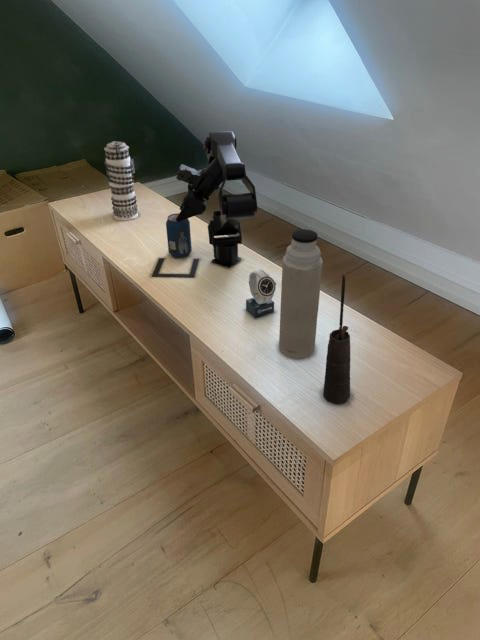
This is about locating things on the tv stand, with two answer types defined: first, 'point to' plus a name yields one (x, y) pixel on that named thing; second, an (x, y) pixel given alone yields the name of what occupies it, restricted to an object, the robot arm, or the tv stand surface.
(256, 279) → the watch
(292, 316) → the thermos bottle
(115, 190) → the white and grey cylinder
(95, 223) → the tv stand surface
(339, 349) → the butter churn
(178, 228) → the soda can
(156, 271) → the tape square
